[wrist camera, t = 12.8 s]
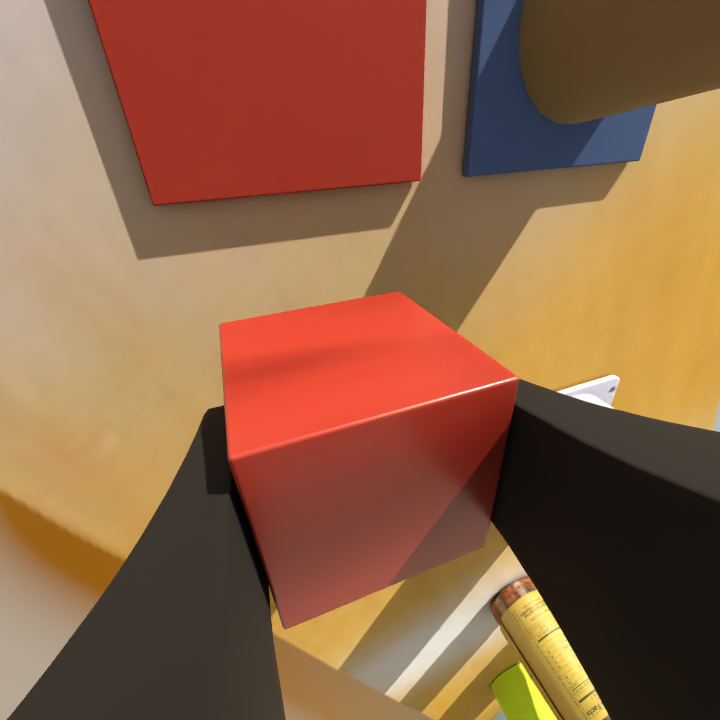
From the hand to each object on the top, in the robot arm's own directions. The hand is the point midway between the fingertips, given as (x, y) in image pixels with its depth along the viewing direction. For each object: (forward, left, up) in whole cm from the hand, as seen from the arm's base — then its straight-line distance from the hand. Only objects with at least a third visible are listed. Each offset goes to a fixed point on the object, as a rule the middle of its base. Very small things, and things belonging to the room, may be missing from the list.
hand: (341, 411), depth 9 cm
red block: (0, 0, -1) cm, 1 cm away
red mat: (+9, -1, -7) cm, 11 cm away
